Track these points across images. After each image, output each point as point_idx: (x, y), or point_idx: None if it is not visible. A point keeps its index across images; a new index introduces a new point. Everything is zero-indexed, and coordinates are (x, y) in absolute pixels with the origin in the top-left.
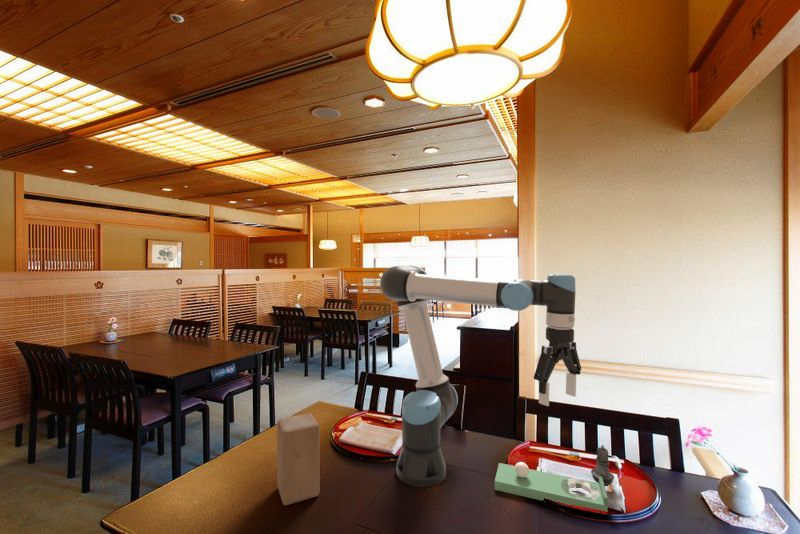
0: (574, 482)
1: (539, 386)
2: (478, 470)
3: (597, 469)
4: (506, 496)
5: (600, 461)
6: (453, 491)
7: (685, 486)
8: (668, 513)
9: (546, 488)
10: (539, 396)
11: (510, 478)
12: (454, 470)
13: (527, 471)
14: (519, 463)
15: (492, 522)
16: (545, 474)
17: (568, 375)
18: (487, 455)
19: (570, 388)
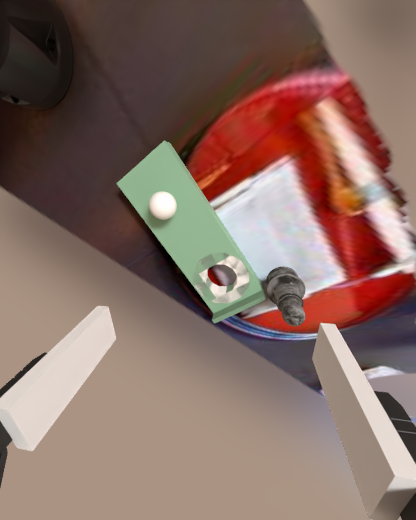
0: (230, 266)
1: (8, 386)
2: (135, 115)
3: (278, 290)
4: (130, 206)
5: (280, 305)
6: (61, 144)
7: (386, 352)
8: (286, 349)
9: (177, 248)
10: (77, 328)
11: (146, 195)
12: (91, 84)
13: (163, 219)
14: (153, 205)
15: (81, 231)
16: (210, 225)
17: (374, 460)
18: (193, 71)
19: (329, 373)
